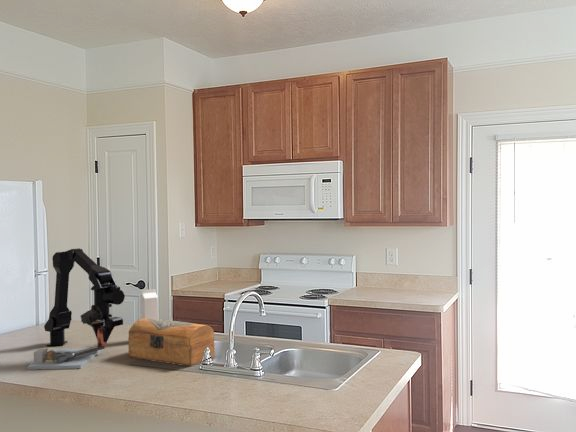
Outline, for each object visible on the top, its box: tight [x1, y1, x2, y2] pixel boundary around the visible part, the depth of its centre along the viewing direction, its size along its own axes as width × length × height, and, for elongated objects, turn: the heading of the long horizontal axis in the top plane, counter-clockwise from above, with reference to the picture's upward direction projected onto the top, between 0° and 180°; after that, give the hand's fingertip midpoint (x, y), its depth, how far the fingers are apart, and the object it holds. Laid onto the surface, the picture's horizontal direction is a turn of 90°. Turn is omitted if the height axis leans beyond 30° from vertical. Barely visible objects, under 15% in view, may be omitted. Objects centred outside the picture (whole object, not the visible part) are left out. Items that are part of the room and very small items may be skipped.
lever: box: [53, 328, 108, 361], centre depth 212 cm, size 5×22×8 cm, turn 148°
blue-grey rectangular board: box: [26, 347, 101, 371], centre depth 212 cm, size 24×19×5 cm
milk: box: [139, 288, 159, 319], centre depth 242 cm, size 6×6×22 cm
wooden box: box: [127, 318, 215, 367], centre depth 214 cm, size 30×16×14 cm, turn 62°
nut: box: [46, 349, 56, 360], centre depth 207 cm, size 4×4×4 cm
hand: (102, 341), depth 220 cm, fingers open, 4 cm apart
